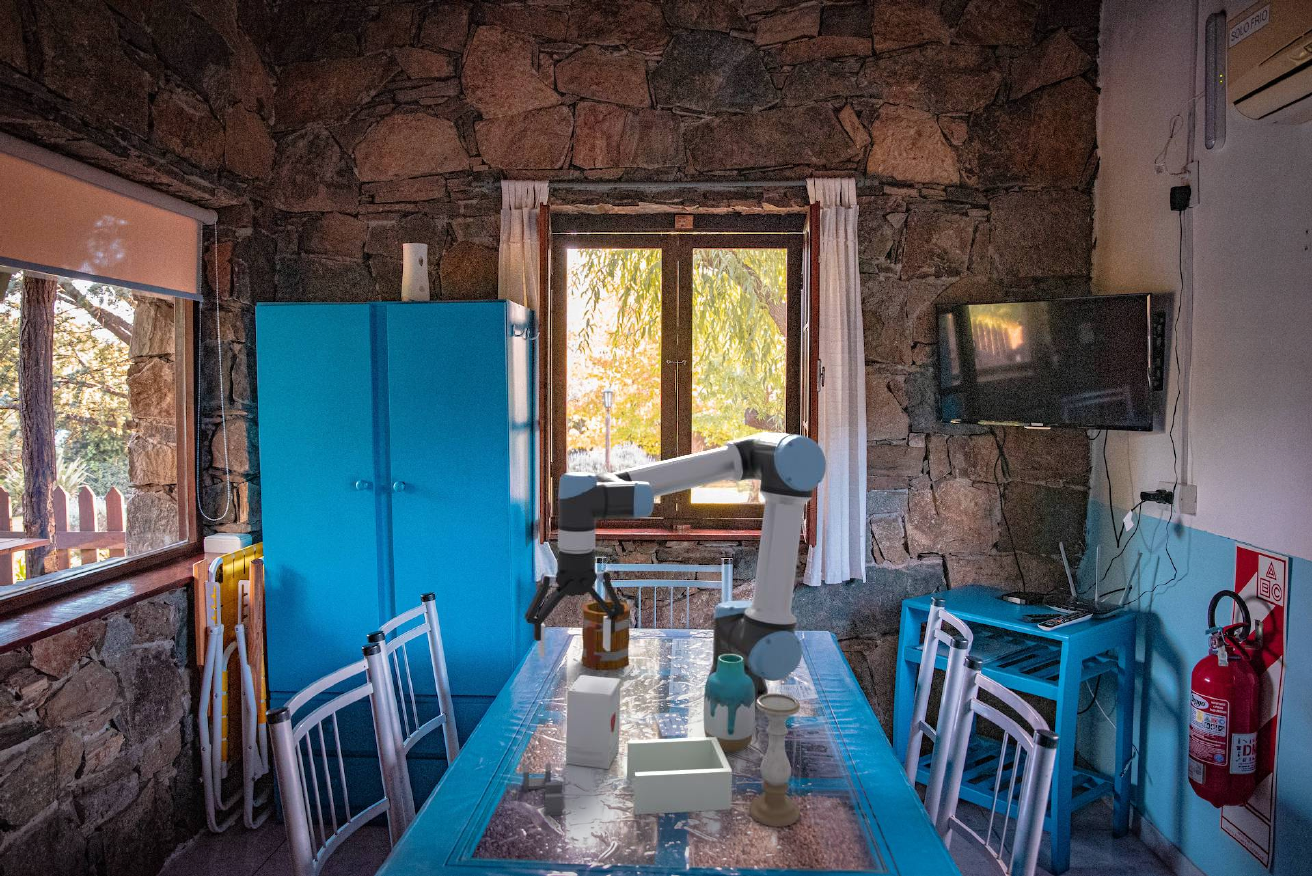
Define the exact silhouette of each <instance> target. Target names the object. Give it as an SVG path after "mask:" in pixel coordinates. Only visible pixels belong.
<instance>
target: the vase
mask: <svg viewBox="0 0 1312 876" xmlns="http://www.w3.org/2000/svg"><path fill="white" fill-rule="evenodd" d="M708 676H709V675H708ZM708 676H707V678H708V679H707V678H706V681H707V682H706V681H705V684H706V686H705V685H704V696H703V728H704V734H705V736H704V737H716V738H717V740H718V742H719V744H720V746H721V749H722V751H723V753H729V754H730V753H731V754H732V753H737V752H742V751H744V750H745V749H747V747H749V746H750V744H751V742H752V739H753V737H754V732H755V721H756V707H755V688H754V683H753V681H752V679H751V678H750V677H749V676H748V675H746V674H745V672H744V659H743V657H741V656H739V655H735V654H724V655H721V656H719V657H718V663H717V670H716V672H715V673H713V674H711V675H710V676H709V677H708Z"/></svg>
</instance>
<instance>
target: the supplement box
mask: <svg viewBox="0 0 1312 876" xmlns="http://www.w3.org/2000/svg"><path fill="white" fill-rule="evenodd" d="M566 700H567V701H566V734H565V735H566V736H565V738H566V739H565V764H566V765H574V766H580V767H581V766H582V767H590V768H598V769H604V770H605V769H606V770H608V769H610V766H611V765H612V763H613V761H614V759H615V757H616V755H617V754H618V752H619V749H620V713H621V712H620V711H621V709H620V708H621V679H620V678H616V677H615V678H614V677H605V676H594V675H585V674H581V675H579V676H578V677H577V679H576V680H575V681H574V682H573V683H572V685H571V686H570V687H569V688H568V690H567V695H566Z"/></svg>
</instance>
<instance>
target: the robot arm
mask: <svg viewBox="0 0 1312 876" xmlns="http://www.w3.org/2000/svg"><path fill="white" fill-rule="evenodd" d="M825 456H826V455H825V453H824V451H823V449H822V448H821V446H820V445H819V444H818V443H817V441H814V440H813V439H812V438H809V437H807V436H803V435H801V434H797V433H795V434H793V433H792V434H791V433H784V432H783V433H782V432H777V431H764V432H759V433H756V434H752V435H749V436H745V437H741V438H737V439H734V440H730V441H726V442H725V443H724V444H723V446H722V447H718V448H714V449H710V450H706V451H705V450H704V451H701V452H697V453H693V454H687V455H683V456H679V457H676V458H670V459H667V460H661V461H657V462H654V463H653V462H652V463H649V464H644V465H640V466H635V467H633V468H628V469H627V468H626V469H625V470H623V469H622V470H619V471H615V472H609V473H608V472H596V473H592V472H582V471H581V472H579V471H573V472H571V471H570V472H566V473H563V474H562V475H561V476H560V478H559V483H558V484H559V485H558V495H557V498H558V500H557V501H558V526H557V527H558V532H557V547H558V548H559V549H558V551H557V564H556V565H557V568H556V569H557V570H556V574H555V575H554V574H553V575H551V574H547V573H542V574H541V578H540V584H539V586H538V588H537V590H536V593H535V594H534V597H533V598H532V600H531V603H530V605H529V607H528V608H527V611H526V612H525V614H524V619H525V621H526V623H527V624H532V625H533V639H534V640H535V641H536V642H538V649H537V653H538V656H539V657H540V659H544V658H545V659H546V625H545V624H544V623H545V620H546V619H547V618H549V615H550V614H551V613H552V612H553V610H554V609H555V608H556V607H557V605H558V604H559V603H560V602H561V600H563V599H564V598H565V597H566V596H568V597H575V596H585V595H586V594H589V595H590V597H591V598H592V599H593V600H594V601H596V602H597V603H598V604H599V606H600V607H601V608H602V609H603V610H604V611H605V612H606V614H607V615H608V617H607V616H603V648H604V649H605V650H606V651H610V637H611V634H613V633H614V632H615V620H616V619H617V616H619V615H623V614H624V610H623V607H622V605H621V603H620V602H621V601H620V600H619V598H618V594H617V593H616V591H615V589H614V587H613V584H612V582H611V574H610V572H608V571H607V570H606V569H602V570H601V571H599V572H598V571H597V572H596V569H595V568H596V567H595V565H596V551H595V550H594V549H595V548H596V527H597V526H596V522H597V520H615V519H617V520H619V519H634V520H636V519H641V518H643V519H644V518H648V517H650V516H651V514H652V513H653V510H654V507H655V498H657V497H661V496H665V495H669V494H674V493H676V492H677V493H678V492H682V491H686V490H689V489H695V488H698V487H702V486H706V485H710V484H714V483H719V482H723V481H727V480H731V481H733V482H737V483H738V482H741V481H747V480H757V481H760V484H759V492H760V495H762V497H763V499H764V500H765V501H764V509H763V516H762V524H761V533H760V540H759V541H760V542H759V548H758V554H757V555H758V557H757V564H756V565H757V566H756V572H755V579H754V580H755V582H754V587H753V589H754V590H753V595H752V601H751V600H729V601H723V602H720V603H718V604H717V605H715V607H714V612H713V613H714V614H713V618H712V619H713V639H712V641H713V645H712V665H711V668H710V670H709V673H708V676H707V678H706V681H705V685H704V687H705V686H706V682H707V679H708V677H709V676H710V675H711V674H713V673H715V672H716V670H717V663H718V657H719V656H721V655H724V654H735V655H739V656H741V657H743V659H744V672H745V674H746V675H748V676H749V677H750V678H751V679H752V681H753V683H754V688H755V708H757V706H756V701H757V699H758V697H760V696H762V695H765V694H769V693H768V692H769V690H768V685H767V682H766V681H770V682H776V681H781V680H784V679H786V678H787V677H789V676H790V674H791V673H793V672H795V670H797V669H798V666H799V665H800V662H801V660H802V656H803V646H802V643H801V641H800V638H798V636H797V635H796V634H795V633H796V625H797V617H796V616H795V615H794V614H793V612H792V610H791V609H792V603H793V595H794V586H795V579H796V572H797V571H796V570H797V563H798V555H799V548H800V547H799V546H800V540H801V531H802V525H803V524H802V523H803V516H804V509H805V508H804V507H805V506H806V505H805V504H807V503H808V502H809V501H811V500H812V499H813V494H814V489H815V488H816V487H818V486H819V484H820V483H821V482H822V481H823V479H824V477H825V475H826V469H827V463H826V461H827V460H826V457H825ZM597 579H598V581H599V582H600V583H602V585H603V588H604V590H605V591H606V594H607V596H608V597H609V601H610V600H611V602H612V604H613V606H614V608H615V609H613V610H611V608H610V607H609V606H608V605H607V604H606V603H605V601H606V600H605V599H603V598H602V596H600V594H599V593H598V592H597V591H596V589H595V588H593V585H595V584H594V583H596V581H597ZM553 583H556V584H557V585H558V586H557V587H556V588H555V589H554V592H553V594H552V595H551V596H550V597H549V598H548V600H547V601H546V602H545V603H544V605H542V603H543V601H544V599H545V597H546V595H547V593H548V590H549V589H550V587H552V585H553ZM541 605H542V607H541ZM540 607H541V608H540Z"/></svg>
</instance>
